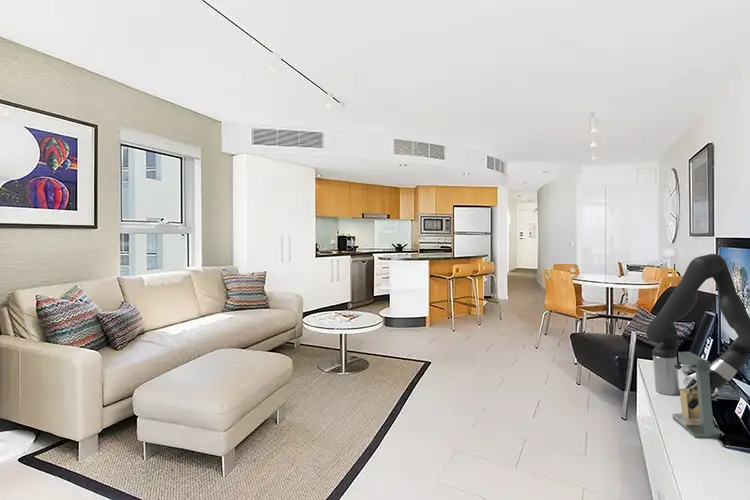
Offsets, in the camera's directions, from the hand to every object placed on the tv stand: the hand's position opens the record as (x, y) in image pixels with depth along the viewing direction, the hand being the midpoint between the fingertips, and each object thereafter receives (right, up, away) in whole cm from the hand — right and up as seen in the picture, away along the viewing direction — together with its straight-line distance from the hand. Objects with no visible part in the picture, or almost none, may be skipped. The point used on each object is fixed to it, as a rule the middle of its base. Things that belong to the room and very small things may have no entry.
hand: (686, 404), depth 161 cm
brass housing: (+2, -4, 0) cm, 5 cm away
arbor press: (0, -8, -3) cm, 8 cm away
